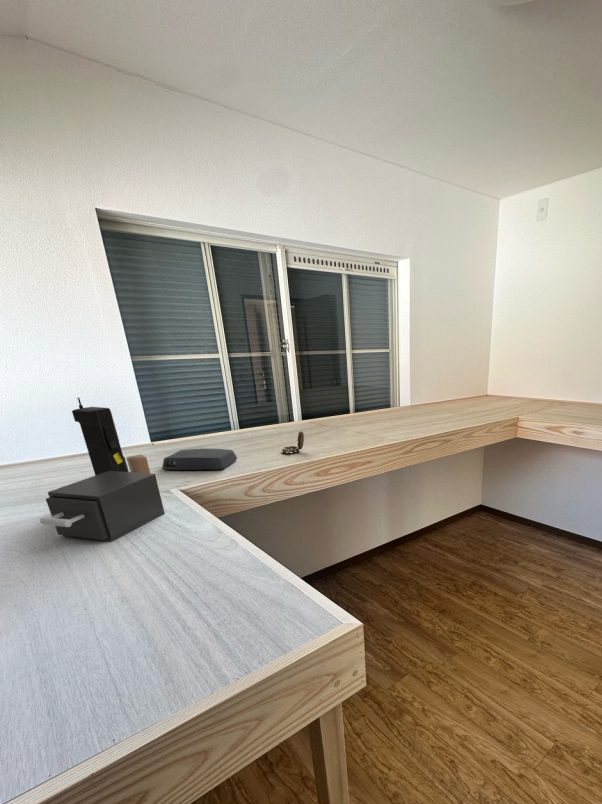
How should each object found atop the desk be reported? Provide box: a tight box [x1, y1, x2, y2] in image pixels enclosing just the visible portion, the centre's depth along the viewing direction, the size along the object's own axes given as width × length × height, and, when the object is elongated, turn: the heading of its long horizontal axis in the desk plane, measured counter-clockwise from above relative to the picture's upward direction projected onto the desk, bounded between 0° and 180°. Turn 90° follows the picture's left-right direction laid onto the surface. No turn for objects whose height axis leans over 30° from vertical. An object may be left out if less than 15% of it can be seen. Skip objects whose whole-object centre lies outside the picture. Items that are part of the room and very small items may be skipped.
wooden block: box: [126, 454, 151, 474], centre depth 114 cm, size 4×4×8 cm
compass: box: [281, 430, 305, 453], centre depth 144 cm, size 8×8×7 cm
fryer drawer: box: [39, 496, 108, 541], centre depth 85 cm, size 18×11×8 cm, turn 166°
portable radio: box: [71, 397, 130, 476], centre depth 100 cm, size 8×6×25 cm
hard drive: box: [161, 447, 238, 471], centre depth 132 cm, size 13×19×4 cm
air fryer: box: [47, 471, 166, 542], centre depth 89 cm, size 15×13×10 cm
